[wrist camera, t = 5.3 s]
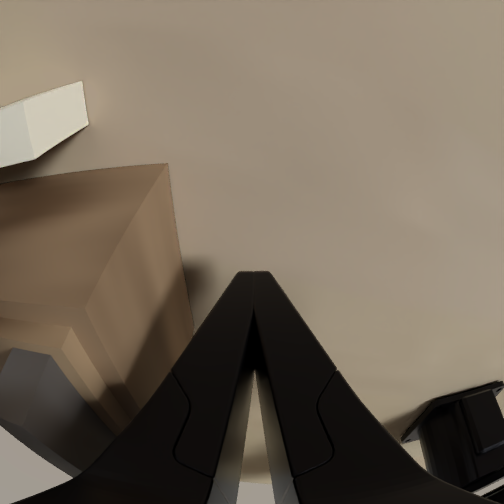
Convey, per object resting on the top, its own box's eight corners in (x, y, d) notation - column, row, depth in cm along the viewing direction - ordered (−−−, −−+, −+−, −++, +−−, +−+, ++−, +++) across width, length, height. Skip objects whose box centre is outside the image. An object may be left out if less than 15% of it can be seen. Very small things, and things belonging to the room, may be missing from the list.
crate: (167, 163, 8) (39, 416, 2) (193, 326, 11) (169, 510, 6) (-46, 194, 8) (-153, 313, 2) (8, 311, 11) (-50, 430, 6)
